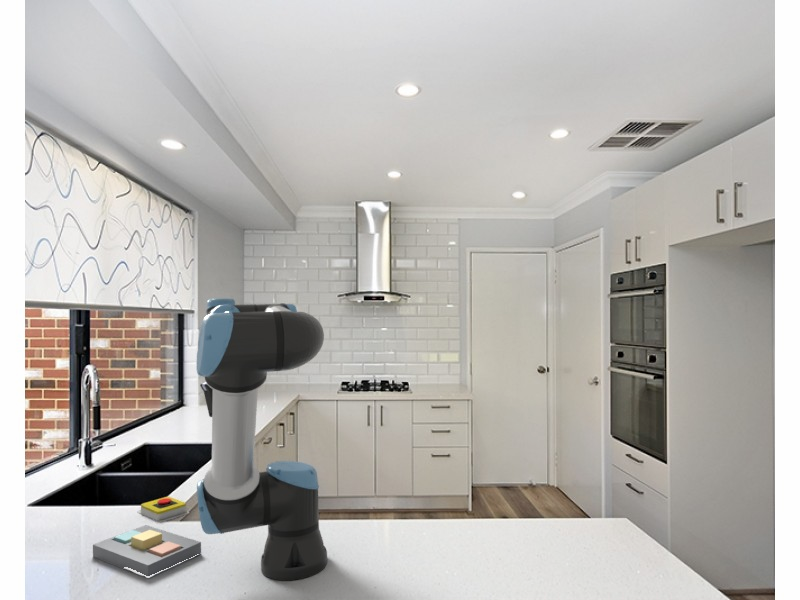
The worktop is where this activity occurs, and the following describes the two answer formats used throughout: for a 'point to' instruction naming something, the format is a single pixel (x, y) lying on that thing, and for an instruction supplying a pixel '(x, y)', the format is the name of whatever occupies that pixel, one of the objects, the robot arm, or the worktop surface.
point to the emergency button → (163, 509)
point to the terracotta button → (164, 549)
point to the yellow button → (146, 539)
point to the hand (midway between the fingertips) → (223, 441)
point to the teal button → (126, 536)
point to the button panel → (145, 552)
